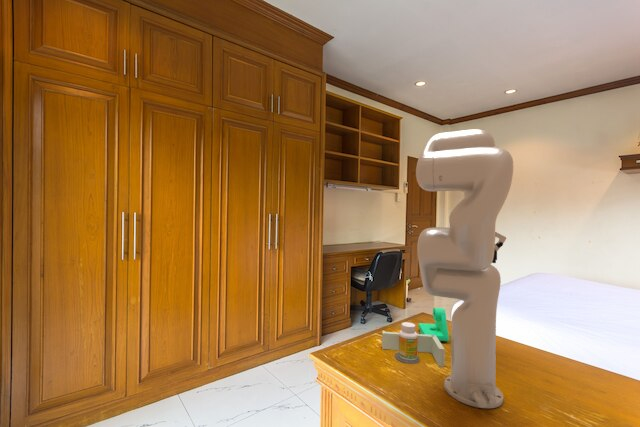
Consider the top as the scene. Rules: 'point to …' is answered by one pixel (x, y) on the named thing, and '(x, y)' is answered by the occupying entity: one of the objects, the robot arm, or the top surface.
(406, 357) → the supplement bottle
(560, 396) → the top surface
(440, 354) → the corner walls
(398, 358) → the pad
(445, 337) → the camera mount
